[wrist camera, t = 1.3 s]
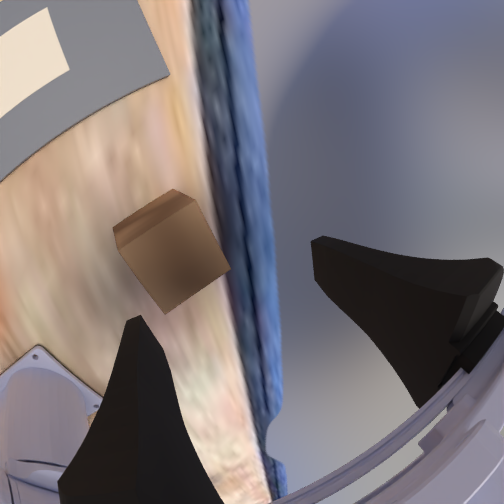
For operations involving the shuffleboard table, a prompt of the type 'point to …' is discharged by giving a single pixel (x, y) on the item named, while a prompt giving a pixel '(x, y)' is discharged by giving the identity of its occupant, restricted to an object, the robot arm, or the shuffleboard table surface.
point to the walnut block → (170, 249)
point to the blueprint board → (67, 67)
